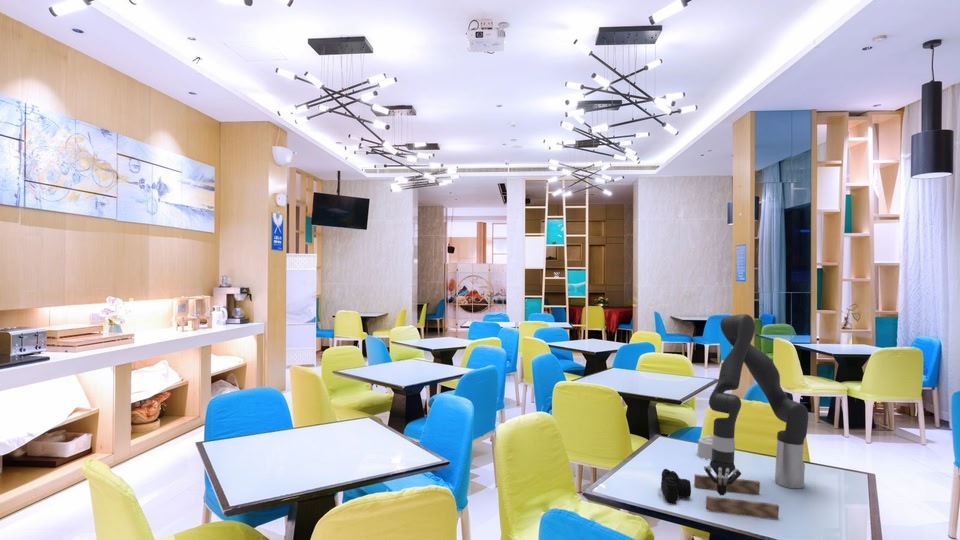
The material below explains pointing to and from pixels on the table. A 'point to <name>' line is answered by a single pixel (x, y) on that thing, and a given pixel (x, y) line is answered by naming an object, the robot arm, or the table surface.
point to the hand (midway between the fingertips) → (721, 494)
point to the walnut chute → (733, 504)
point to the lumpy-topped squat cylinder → (705, 447)
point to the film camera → (674, 486)
